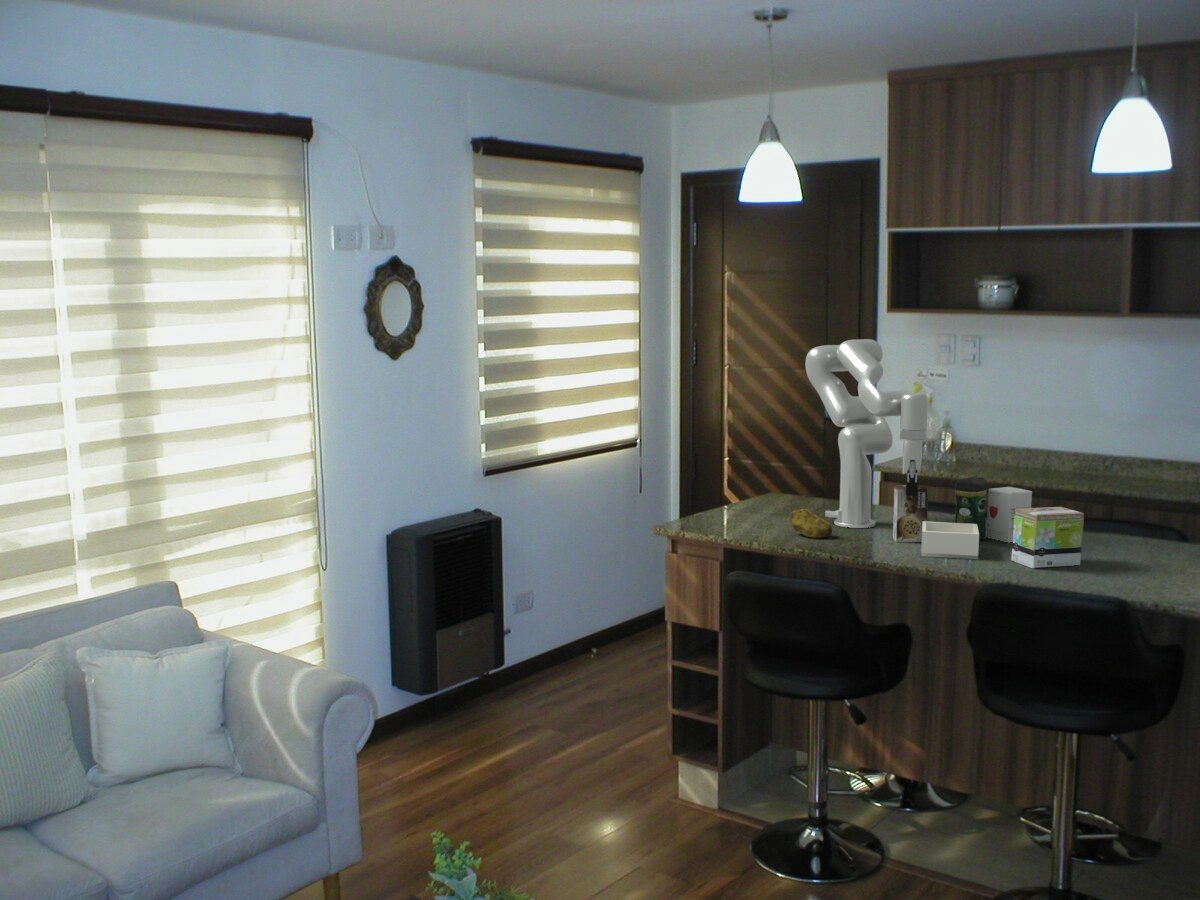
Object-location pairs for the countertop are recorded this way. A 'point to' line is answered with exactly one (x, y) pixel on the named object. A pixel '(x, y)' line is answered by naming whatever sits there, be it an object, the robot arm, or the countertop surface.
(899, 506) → the coffee box
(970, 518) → the coffee jar
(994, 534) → the supplement box
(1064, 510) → the tea box
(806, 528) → the potato
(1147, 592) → the countertop surface
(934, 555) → the tote
